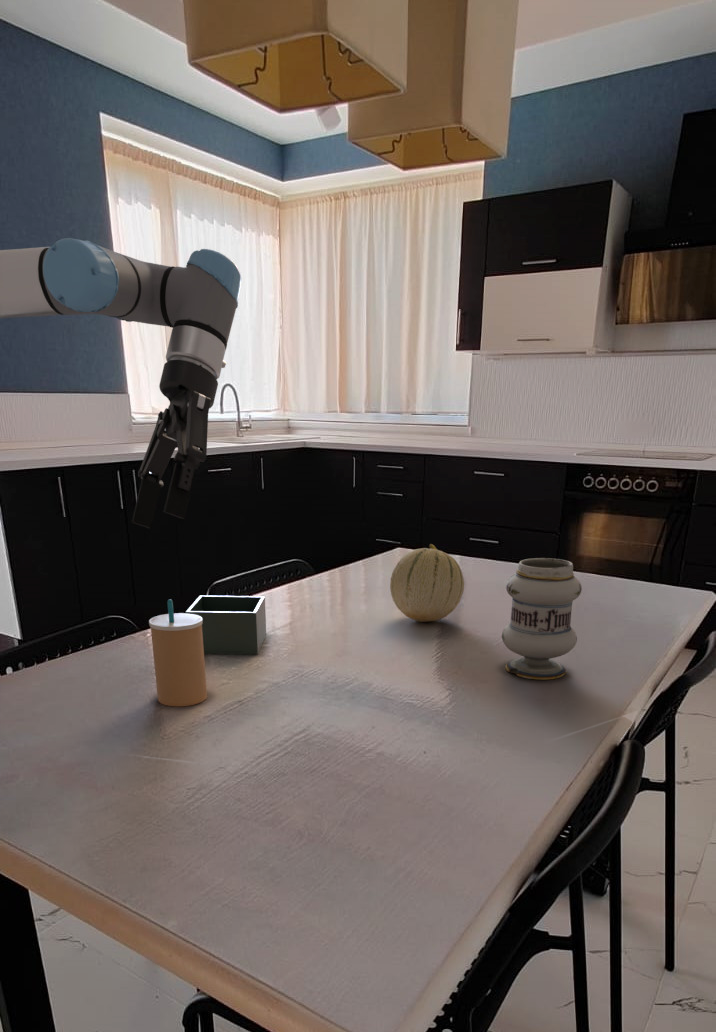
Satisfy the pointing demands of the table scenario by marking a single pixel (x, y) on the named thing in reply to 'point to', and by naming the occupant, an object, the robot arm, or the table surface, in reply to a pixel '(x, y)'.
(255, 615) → the bin
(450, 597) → the cantaloupe
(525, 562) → the apothecary jar
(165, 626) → the drink cup
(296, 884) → the table surface
